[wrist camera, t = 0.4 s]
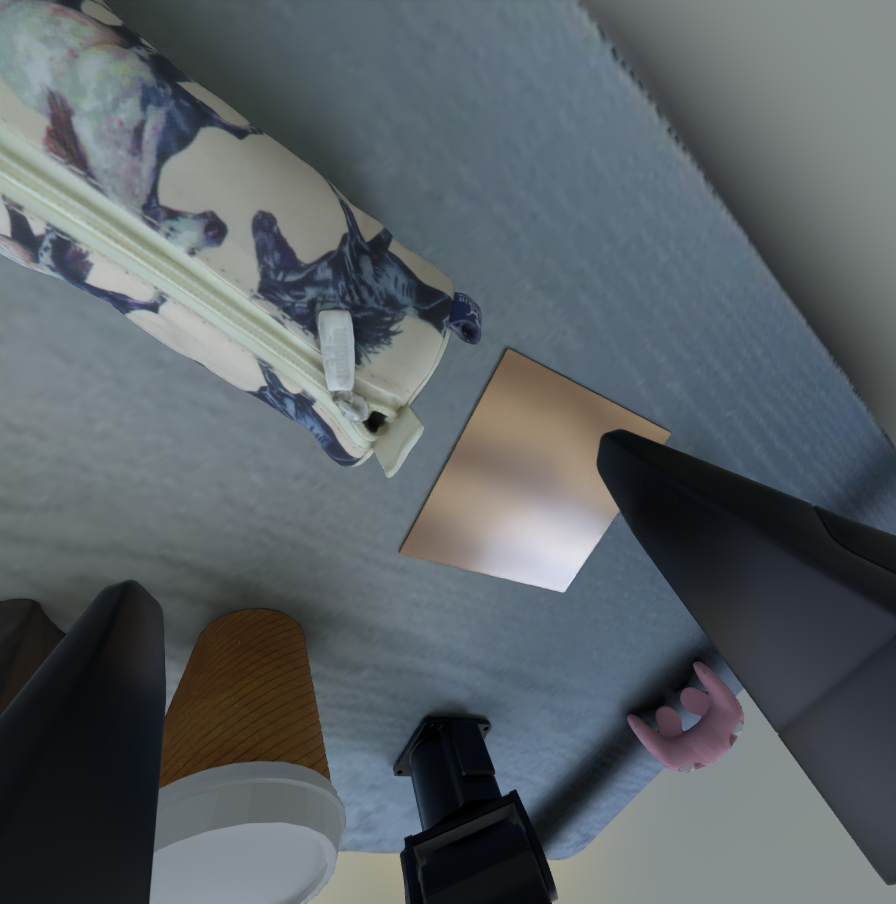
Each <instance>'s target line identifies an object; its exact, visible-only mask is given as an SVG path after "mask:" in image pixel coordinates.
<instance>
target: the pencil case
mask: <svg viewBox="0 0 896 904" xmlns="http://www.w3.org/2000/svg"><path fill="white" fill-rule="evenodd" d="M0 254H1V255H3V256H5V257H7V258H9V259H11V260H13V261H15V262H17V263H19V264H21V265H23V266H25V267H27V268H30V269H32V270H34V271H37V272H41V273H44V274H47V275H51V276H55V277H57V278H59V279H61V280H64V281H66V282H68V283H70V284H72V285H74V286H76V287H78V288H80V289H82V290H85V291H87V292H89V293H91V294H93V295H95V296H97V297H99V298H101V299H104V300H106V301H108V302H109V303H110V304H111V305H112V306H114V307H115V308H116V309H118V310H119V311H120V312H121V313H123V314H124V315H125V316H126V317H127V318H129V319H130V320H132V321H133V322H134V323H136V324H137V325H138V326H140V327H141V328H142V329H144V330H145V331H146V332H148V333H149V334H151V335H152V336H153V337H155V338H156V339H158V340H159V341H160V342H162V343H164V344H165V345H167V346H168V347H170V348H172V349H173V350H175V351H177V352H179V353H181V354H183V355H184V356H186V357H188V358H190V359H192V360H194V361H195V362H197V363H199V364H200V365H202V366H204V367H205V368H207V369H209V370H210V371H212V372H213V373H215V374H216V375H218V376H220V377H221V378H223V379H224V380H226V381H228V382H229V383H231V384H233V385H235V386H236V387H238V388H240V389H242V390H244V391H246V392H247V393H249V394H251V395H253V396H255V397H257V398H259V399H261V400H262V401H264V402H265V403H267V404H269V405H270V406H272V407H273V408H275V409H276V410H277V411H279V412H280V413H282V414H283V415H285V416H286V417H288V418H290V419H292V420H294V421H296V422H297V423H299V424H301V425H303V426H304V427H305V428H307V429H308V430H309V431H310V432H311V433H312V434H313V435H314V436H315V438H316V439H317V441H318V442H319V444H320V445H321V447H322V448H323V449H324V451H325V452H326V453H327V454H328V455H329V456H330V457H331V458H332V459H333V460H334V461H336V462H337V463H338V464H340V465H341V466H344V467H349V466H350V467H356V466H359V465H361V464H362V463H364V462H365V461H366V460H367V459H368V458H369V457H370V456H371V455H372V454H373V452H374V453H375V455H376V456H377V458H378V460H379V462H380V464H381V466H382V467H383V468H384V471H385V475H386V477H388V478H391V477H392V476H393V475H394V474H395V473H396V472H397V471H398V470H399V468H400V467H401V465H402V464H403V462H404V460H405V459H406V457H407V455H408V454H409V452H410V450H411V449H412V448H413V446H414V445H415V444H416V442H417V441H418V439H419V438H420V436H421V434H422V432H423V430H424V424H423V422H422V421H421V420H420V418H419V417H418V416H417V414H416V413H415V412H414V411H413V410H412V408H411V407H410V406H411V405H412V403H413V402H414V401H415V399H416V398H417V396H418V394H419V393H420V391H421V390H422V388H423V387H424V386H425V384H426V383H427V381H428V380H429V379H430V377H431V375H432V374H433V372H434V370H435V369H436V367H437V366H438V364H439V362H440V360H441V358H442V355H443V353H444V351H445V348H446V346H447V343H448V340H449V337H450V334H451V331H454V332H455V333H456V334H457V335H458V336H459V338H460V339H462V340H463V341H464V342H467V343H470V344H477V343H478V342H479V341H480V338H481V317H482V313H481V309H480V307H479V306H478V305H477V304H476V303H475V302H474V301H473V300H472V299H471V298H470V297H469V296H467V295H466V294H463V293H458V292H455V290H454V287H453V282H452V279H451V278H450V277H449V276H448V275H446V274H445V273H443V272H442V271H441V270H439V269H438V268H437V267H435V266H434V265H433V264H431V263H430V262H428V261H427V260H426V259H424V258H422V257H421V256H419V255H418V254H416V253H414V252H412V251H410V250H408V249H406V248H405V247H404V246H402V245H401V244H400V243H398V242H397V240H396V239H395V238H394V237H393V236H392V235H391V234H390V233H389V231H388V230H387V229H386V228H385V227H384V226H383V225H382V224H381V223H380V222H378V221H377V220H376V219H374V218H372V217H370V216H368V215H367V214H366V213H365V212H363V211H362V210H360V209H358V208H357V207H355V206H353V205H352V204H351V203H350V202H349V201H348V200H347V198H346V197H345V196H344V195H343V194H342V193H341V192H340V191H339V190H338V189H337V188H336V187H335V186H334V185H333V184H332V183H330V182H329V181H328V180H327V179H326V178H325V177H324V176H323V175H322V174H321V173H320V172H318V171H317V170H316V169H315V168H313V167H312V166H310V165H309V164H307V163H306V162H304V161H303V160H301V159H300V158H298V157H297V156H296V155H294V154H293V153H292V152H290V151H289V150H288V149H287V148H285V147H284V146H283V145H281V144H280V143H279V142H277V141H276V140H274V139H273V138H271V137H270V136H268V135H267V134H265V133H264V132H263V131H261V130H260V129H258V128H257V127H256V126H254V125H253V124H252V123H250V122H249V121H248V120H246V119H245V118H244V117H243V116H241V115H240V114H239V113H238V112H237V111H235V110H234V109H233V108H232V107H230V106H229V105H228V104H227V103H225V102H224V101H223V100H221V99H220V98H218V97H217V96H216V95H214V94H213V93H211V92H210V91H208V90H207V89H205V88H204V87H202V86H201V85H199V84H198V83H196V82H195V81H193V80H192V79H190V78H189V77H187V76H186V75H185V74H184V73H183V72H181V71H180V70H179V69H178V68H177V67H176V66H174V65H173V64H172V63H171V62H170V61H169V60H167V59H166V58H165V57H164V56H163V55H162V54H161V53H160V52H158V51H157V50H156V49H155V48H154V47H152V46H151V45H150V44H149V43H148V42H147V41H146V40H145V39H143V38H142V37H141V36H140V35H139V34H137V33H136V32H135V31H134V30H133V29H131V28H130V27H129V26H128V25H126V24H125V23H124V22H123V21H122V20H121V19H120V18H118V17H117V16H116V15H115V14H114V13H113V11H112V10H111V9H110V8H109V7H108V6H107V5H106V4H105V3H104V2H103V1H102V0H0ZM464 332H465V333H466V335H465V333H464ZM466 339H468V340H469V341H468V340H466ZM470 341H471V342H470Z"/></svg>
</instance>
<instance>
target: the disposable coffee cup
mask: <svg viewBox="0 0 896 904" xmlns="http://www.w3.org/2000/svg"><path fill="white" fill-rule="evenodd" d="M307 655H308V654H307V650H306V644H305V637H304V634H303V630H302V629H301V627H300V626H299V624H298V623H296V622H295V621H294V620H293V619H292V618H290V617H288V616H286V615H284V614H282V613H279V612H276V611H273V610H266V609H249V610H242V611H239V612H235V613H231V614H228V615H226V616H223V617H221V618H220V619H218V620H216V621H215V622H213V623H211V624H210V625H209V626H208V627H207V628H206V629H205V630H204V631H203V632H202V633H201V635H200V636H199V637H198V639H197V642H196V644H195V647H194V649H193V652H192V654H191V657H190V659H189V661H188V664H187V666H186V669H185V671H184V673H183V676H182V678H181V680H180V683H179V685H178V688H177V690H176V692H175V694H174V697H173V699H172V701H171V704H170V706H169V709H168V711H167V713H166V716H165V721H164V733H163V745H162V757H161V769H160V782H159V794H158V806H157V818H156V830H155V842H154V855H153V867H152V879H151V891H150V903H149V904H307V903H308V902H309V901H310V900H312V899H313V898H314V897H315V896H316V895H318V894H319V893H320V891H321V890H322V889H323V888H324V887H325V885H326V884H327V883H328V881H329V880H330V878H331V876H332V875H333V873H334V870H335V865H336V861H337V855H338V847H339V843H340V841H341V839H342V836H343V833H344V831H345V827H346V815H345V809H344V806H343V804H342V802H341V800H340V798H339V797H338V796H337V791H336V790H335V788H334V787H333V786H332V784H331V781H330V773H329V768H328V766H327V765H328V762H327V758H326V754H325V752H326V751H325V747H324V743H323V736H322V731H321V725H320V721H319V714H318V710H317V704H316V700H315V699H316V697H315V693H314V690H313V689H314V686H313V682H312V676H311V672H310V671H311V670H310V666H309V664H308V663H309V660H308V656H307Z"/></svg>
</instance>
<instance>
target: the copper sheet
mask: <svg viewBox="0 0 896 904" xmlns="http://www.w3.org/2000/svg"><path fill="white" fill-rule="evenodd" d="M616 429H624V430H627V431H630V432H632V433H635V434H637V435H640V436H642V437H645V438H647V439H650V440H652V441H655V442H657V443H660V444H662V445H664V444H665V442H666V441H667V439H668V438H669V436H670V435H671V433H670V432H668V431H667V430H665V429H663V428H661V427H659V426H657V425H655V424H653V423H651V422H649V421H647V420H645V419H643V418H642V417H640V416H638V415H636V414H634V413H632V412H630V411H628V410H626V409H624V408H622V407H620V406H618V405H617V404H615V403H613V402H611V401H609V400H607V399H605V398H603V397H601V396H599V395H597V394H595V393H593V392H592V391H590V390H588V389H586V388H584V387H582V386H580V385H578V384H576V383H574V382H572V381H570V380H568V379H566V378H565V377H563V376H561V375H559V374H557V373H555V372H553V371H551V370H549V369H547V368H545V367H543V366H541V365H540V364H538V363H536V362H534V361H532V360H530V359H528V358H526V357H524V356H522V355H520V354H518V353H516V352H515V351H513V350H511V349H509V348H507V350H506V352H505V353H504V355H503V357H502V359H501V361H500V363H499V365H498V367H497V369H496V370H495V372H494V374H493V376H492V378H491V380H490V382H489V384H488V386H487V387H486V389H485V391H484V393H483V395H482V397H481V399H480V401H479V403H478V404H477V406H476V408H475V410H474V412H473V414H472V416H471V418H470V420H469V421H468V423H467V425H466V427H465V429H464V431H463V433H462V435H461V437H460V438H459V440H458V442H457V444H456V446H455V448H454V450H453V452H452V454H451V455H450V457H449V459H448V461H447V463H446V465H445V467H444V469H443V471H442V472H441V474H440V476H439V478H438V480H437V482H436V484H435V486H434V488H433V489H432V491H431V493H430V495H429V497H428V499H427V501H426V503H425V505H424V506H423V508H422V510H421V512H420V514H419V516H418V518H417V520H416V522H415V523H414V525H413V527H412V529H411V531H410V533H409V535H408V537H407V539H406V540H405V542H404V544H403V546H402V548H401V550H400V552H399V554H403V555H407V556H411V557H415V558H420V559H424V560H428V561H432V562H437V563H441V564H445V565H449V566H453V567H458V568H462V569H466V570H470V571H475V572H479V573H483V574H487V575H492V576H496V577H500V578H504V579H508V580H513V581H517V582H521V583H525V584H530V585H534V586H538V587H542V588H547V589H551V590H555V591H559V592H563V593H564V592H565V591H566V589H567V588H568V586H569V585H570V583H571V582H572V580H573V579H574V577H575V576H576V574H577V573H578V571H579V570H580V568H581V567H582V565H583V564H584V562H585V561H586V559H587V558H588V557H589V555H590V554H591V552H592V551H593V549H594V548H595V546H596V545H597V543H598V542H599V540H600V539H601V537H602V536H603V534H604V533H605V531H606V530H607V528H608V527H609V525H610V524H611V522H612V521H613V519H614V518H615V516H616V515H617V513H618V512H619V508H618V507H617V505H616V503H615V501H614V500H613V498H612V496H611V494H610V492H609V491H608V489H607V487H606V485H605V484H604V482H603V480H602V478H601V477H600V475H599V473H598V470H597V466H596V461H597V455H598V449H599V443H600V438H601V436H602V435H603V434H604V433H607V432H610V431H613V430H616Z"/></svg>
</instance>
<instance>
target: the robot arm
mask: <svg viewBox="0 0 896 904" xmlns="http://www.w3.org/2000/svg"><path fill="white" fill-rule="evenodd" d="M596 466H597V470H598V473H599V475H600V477H601V478H602V480H603V482H604V484H605V485H606V487H607V489H608V491H609V492H610V494H611V496H612V498H613V500H614V501H615V503H616V505H617V507H618V508H619V510H620V512H621V514H622V515H623V517H624V519H625V521H626V523H627V524H628V526H629V527H630V529H631V531H632V532H633V534H634V535H635V537H636V538H637V540H638V541H639V543H640V544H641V545H642V547H643V548H644V550H645V551H646V552H647V554H648V555H649V557H650V558H651V559H652V561H653V562H654V563H655V565H656V566H657V568H658V569H659V570H660V572H661V573H662V575H663V576H664V577H665V579H666V580H667V581H668V583H669V584H670V586H671V587H672V588H673V590H674V591H675V593H676V594H677V595H678V597H679V598H680V600H681V601H682V602H683V604H684V605H685V606H686V608H687V609H688V611H689V612H690V613H691V615H692V616H693V618H694V619H695V620H696V622H697V623H698V625H699V626H700V627H701V629H702V630H703V631H704V633H705V634H706V636H707V637H708V638H709V640H710V641H711V643H712V644H713V645H714V647H715V648H716V650H717V651H718V652H719V654H720V655H721V656H722V658H723V659H724V661H725V662H726V663H727V665H728V666H729V668H730V669H731V670H732V672H733V673H734V674H735V676H736V677H737V679H738V680H739V681H740V683H741V684H742V686H743V687H744V688H745V689H746V691H747V693H748V694H749V695H750V697H751V698H752V699H753V701H754V702H755V703H756V705H757V706H758V708H759V709H760V711H761V712H762V713H763V714H764V716H765V717H766V719H767V720H768V722H769V723H770V724H771V726H772V727H773V729H774V730H775V731H776V732H777V733H778V736H779V737H780V738H781V740H782V741H783V743H784V744H785V746H786V747H787V748H788V750H789V751H790V753H791V754H792V755H793V757H794V758H795V760H796V761H797V762H798V764H799V765H800V767H801V768H802V769H803V771H804V772H805V774H806V775H807V776H808V778H809V779H810V780H811V782H812V783H813V785H814V786H815V787H816V789H817V790H818V792H819V793H820V794H821V796H822V797H823V798H824V799H825V801H826V803H827V804H828V805H829V807H830V808H831V810H832V811H833V812H834V814H835V815H836V817H837V818H838V819H839V820H840V822H841V823H842V825H843V826H844V828H845V829H846V830H847V832H848V833H849V835H850V836H851V837H852V839H853V840H854V841H855V843H856V844H857V846H858V847H859V848H860V850H861V851H862V852H863V854H864V855H865V857H866V858H867V859H868V861H869V862H870V864H871V865H872V866H873V868H874V869H875V870H876V872H877V873H878V874H879V876H880V877H881V878H882V879H883V880H884V882H885V883H886V884H887V885H894V884H896V535H893V534H890V533H887V532H884V531H882V530H879V529H876V528H873V527H871V526H868V525H865V524H863V523H860V522H857V521H855V520H852V519H850V518H847V517H844V516H842V515H839V514H836V513H834V512H831V511H829V510H826V509H824V508H821V507H819V506H812V504H811V503H808V502H806V501H803V500H801V499H798V498H796V497H793V496H791V495H788V494H786V493H783V492H781V491H778V490H776V489H773V488H771V487H768V486H766V485H763V484H761V483H758V482H756V481H753V480H751V479H748V478H746V477H743V476H740V475H738V474H735V473H733V472H730V471H728V470H725V469H723V468H720V467H718V466H715V465H713V464H710V463H708V462H705V461H703V460H700V459H698V458H695V457H693V456H690V455H688V454H685V453H683V452H680V451H678V450H675V449H672V448H670V447H667V446H665V445H662V444H660V443H657V442H655V441H652V440H650V439H647V438H645V437H642V436H640V435H637V434H635V433H632V432H630V431H627V430H624V429H616V430H613V431H610V432H607V433H604V434H603V435H602V436H601V438H600V443H599V449H598V455H597V461H596ZM165 707H166V675H165V649H164V624H163V612H162V608H161V606H160V604H159V603H158V601H157V600H156V599H155V598H154V597H153V596H152V595H150V594H149V593H148V592H147V591H146V590H145V589H144V588H143V587H142V586H141V585H140V584H139V583H138V582H137V581H135V580H126V581H123V582H120V583H116V584H113V585H110V586H108V587H106V588H104V589H103V590H102V591H101V592H100V593H99V595H98V596H97V597H96V598H95V600H94V601H93V602H92V603H91V605H90V606H89V607H88V608H87V609H86V611H85V612H84V613H83V614H82V616H81V617H80V618H79V619H78V621H77V622H76V623H75V624H74V626H73V627H72V628H71V629H70V630H69V632H68V633H67V634H66V635H65V637H64V638H63V639H62V640H61V642H60V643H59V644H58V645H57V646H56V648H55V649H54V650H53V651H52V653H51V654H50V655H49V656H48V658H47V659H46V660H45V661H44V663H43V664H42V665H41V666H40V667H39V669H38V670H37V671H36V672H35V674H34V675H33V676H32V677H31V679H30V680H29V681H28V682H27V683H26V685H25V686H24V687H23V688H22V690H21V691H20V692H19V693H18V695H17V696H16V697H15V698H14V699H13V701H12V702H11V703H10V704H9V706H8V707H7V708H6V709H5V711H4V712H3V713H2V714H1V716H0V904H149V903H150V891H151V879H152V867H153V855H154V842H155V830H156V818H157V806H158V794H159V782H160V769H161V757H162V745H163V733H164V721H165ZM490 729H491V724H490V722H489V721H488V720H475V719H459V718H443V717H427V718H425V719H424V720H423V721H422V723H421V724H420V726H419V727H418V729H417V731H416V732H415V734H414V735H413V737H412V739H411V740H410V742H409V743H408V745H407V747H406V748H405V750H404V751H403V753H402V755H401V756H400V758H399V759H398V761H397V763H396V764H395V766H394V767H393V771H394V775H395V776H411V778H412V783H413V788H414V793H415V798H416V802H417V807H418V812H419V817H420V822H421V826H422V831H423V832H420V833H418V834H416V835H414V836H412V835H410V836H407V837H405V838H404V840H405V849H404V850H403V851H402V852H401V853H400V858H401V865H402V871H403V878H404V887H405V901H406V904H552V902H554V901H556V900H557V899H558V896H557V891H556V887H555V884H554V881H553V877H552V874H551V871H550V868H549V865H548V863H547V860H546V857H545V854H544V852H543V849H542V847H541V845H540V842H539V840H538V838H537V835H536V833H535V831H534V829H533V826H532V824H531V822H530V820H529V817H528V815H527V813H526V811H525V808H524V806H523V804H522V802H521V800H520V797H519V795H518V793H517V791H516V789H515V790H513V791H511V792H509V794H507V795H505V796H503V797H502V795H501V793H500V790H499V787H498V784H497V782H496V779H495V776H494V775H495V769H494V767H493V764H492V761H491V758H490V756H489V753H488V750H487V747H486V745H485V742H484V738H485V737H486V735H487V734H488V732H489V731H490Z"/></svg>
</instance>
